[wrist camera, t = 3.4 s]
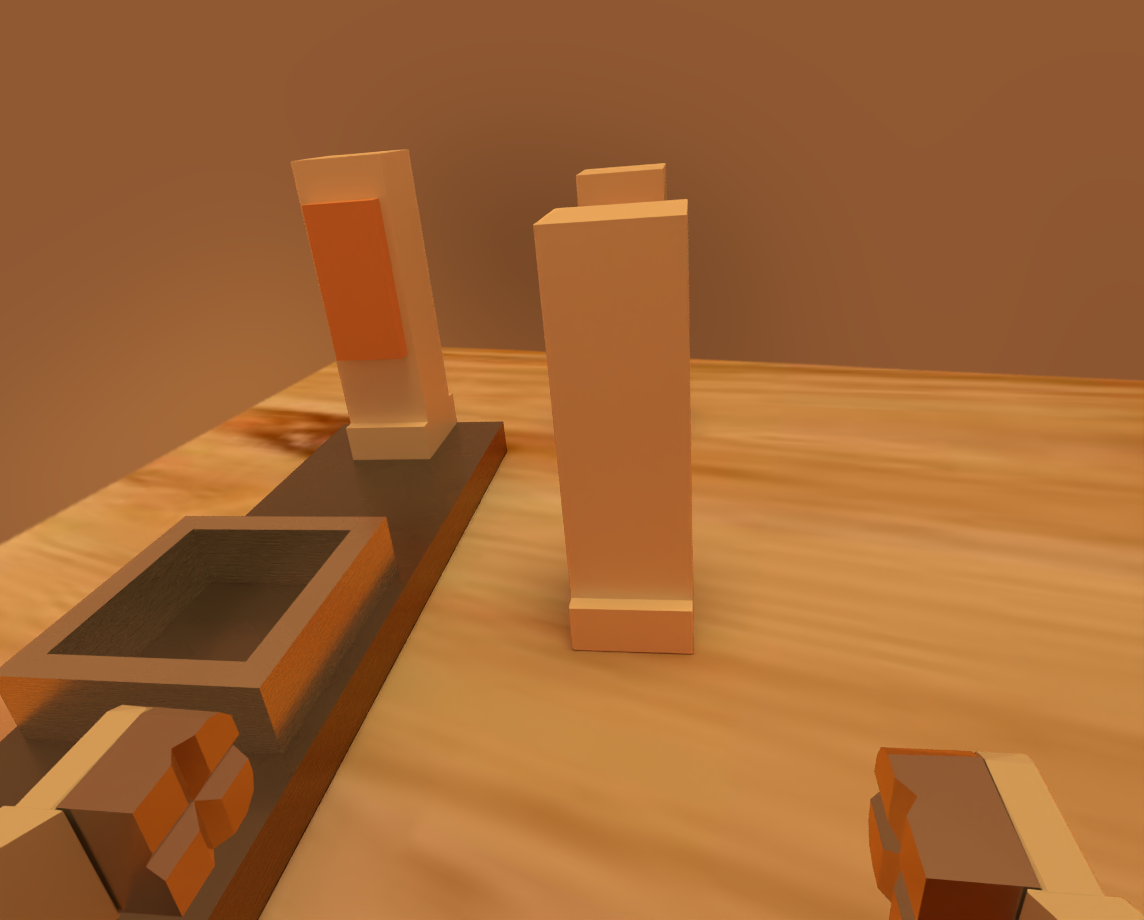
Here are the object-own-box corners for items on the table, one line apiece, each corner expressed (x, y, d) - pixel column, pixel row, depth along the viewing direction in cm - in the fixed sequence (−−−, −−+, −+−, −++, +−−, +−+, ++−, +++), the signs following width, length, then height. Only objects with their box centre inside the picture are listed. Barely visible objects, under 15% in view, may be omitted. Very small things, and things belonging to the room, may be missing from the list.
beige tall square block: (693, 572, 24) (687, 196, 19) (693, 654, 21) (686, 217, 16) (589, 570, 25) (558, 205, 20) (572, 650, 21) (528, 228, 16)
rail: (507, 450, 35) (497, 381, 33) (-101, 1590, 8) (-285, 1499, 7) (350, 452, 36) (335, 386, 35) (-614, 1437, 9) (-864, 1333, 8)
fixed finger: (457, 422, 34) (412, 148, 29) (429, 460, 31) (373, 154, 26) (387, 423, 35) (331, 155, 30) (352, 460, 31) (282, 162, 26)
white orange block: (672, 415, 37) (665, 162, 32) (670, 449, 33) (662, 169, 28) (604, 417, 38) (586, 168, 32) (594, 450, 34) (573, 176, 29)
